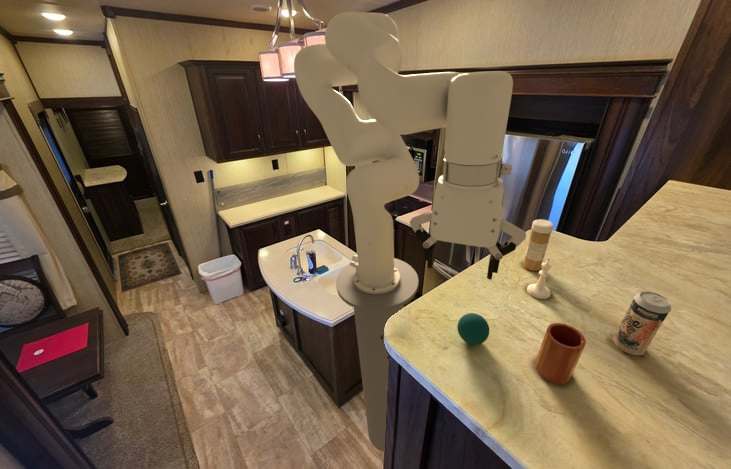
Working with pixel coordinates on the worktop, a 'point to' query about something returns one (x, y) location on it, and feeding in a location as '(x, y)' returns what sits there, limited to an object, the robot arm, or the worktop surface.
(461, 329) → the ball
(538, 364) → the tumbler
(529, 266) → the sprinkles bottle
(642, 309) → the beer can
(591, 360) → the worktop surface
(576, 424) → the worktop surface
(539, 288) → the chess piece
